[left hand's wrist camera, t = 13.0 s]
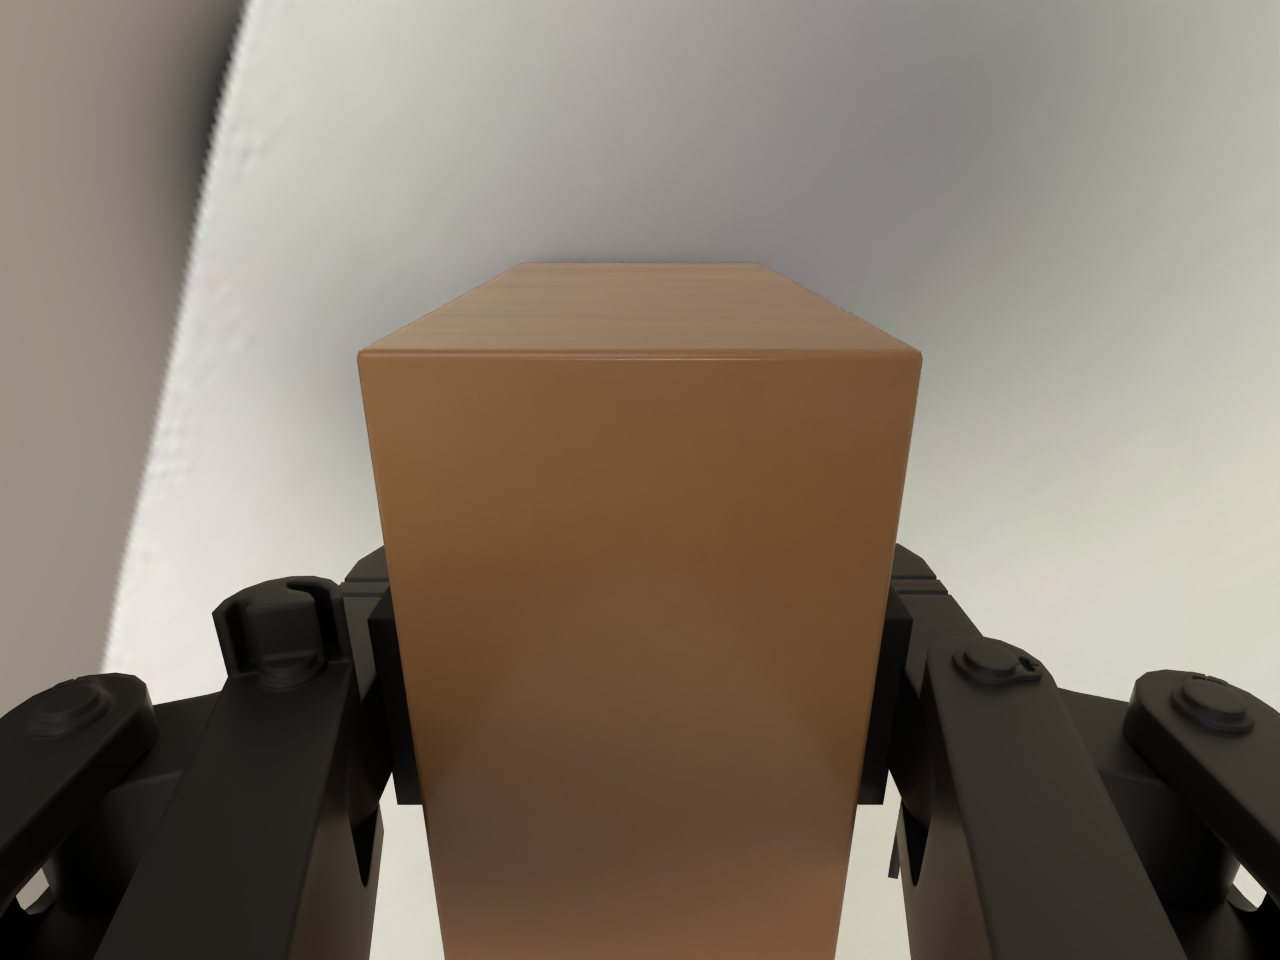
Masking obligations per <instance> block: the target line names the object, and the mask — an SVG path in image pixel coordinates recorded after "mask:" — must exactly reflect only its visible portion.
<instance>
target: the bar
mask: <svg viewBox="0 0 1280 960" xmlns="http://www.w3.org/2000/svg"><path fill="white" fill-rule="evenodd" d="M922 360H923V358H922V354H921V352H920V351H919V350H917V349H915V348H913V347H911V346H909V345H908V344H906V343H904V342H902V341H900V340H899V339H897V338H895V337H893V336H891V335H889V334H888V333H886V332H884V331H882V330H880V329H879V328H877V327H875V326H873V325H871V324H869V323H868V322H866V321H864V320H862V319H860V318H858V317H857V316H855V315H853V314H851V313H849V312H848V311H846V310H844V309H842V308H840V307H838V306H837V305H835V304H833V303H831V302H829V301H828V300H826V299H824V298H822V297H820V296H818V295H817V294H815V293H813V292H811V291H809V290H807V289H806V288H804V287H802V286H800V285H798V284H797V283H795V282H793V281H791V280H789V279H787V278H786V277H784V276H782V275H780V274H778V273H777V272H775V271H773V270H771V269H769V268H767V267H766V266H764V265H762V264H760V263H521V264H519V265H517V266H515V267H514V268H512V269H510V270H508V271H506V272H504V273H503V274H501V275H499V276H497V277H495V278H493V279H491V280H490V281H488V282H486V283H484V284H482V285H480V286H479V287H477V288H475V289H473V290H471V291H469V292H467V293H466V294H464V295H462V296H460V297H458V298H456V299H455V300H453V301H451V302H449V303H447V304H445V305H443V306H442V307H440V308H438V309H436V310H434V311H432V312H431V313H429V314H427V315H425V316H423V317H421V318H419V319H418V320H416V321H414V322H412V323H410V324H408V325H407V326H405V327H403V328H401V329H399V330H397V331H395V332H394V333H392V334H390V335H388V336H386V337H384V338H383V339H381V340H379V341H377V342H375V343H373V344H371V345H370V346H368V347H366V348H364V349H362V350H360V351H359V352H358V356H357V363H358V369H359V376H360V383H361V390H362V397H363V404H364V410H365V417H366V424H367V431H368V438H369V444H370V451H371V458H372V465H373V472H374V479H375V485H376V492H377V499H378V506H379V513H380V520H381V526H382V533H383V540H384V547H385V554H386V560H387V567H388V574H389V581H390V588H391V595H392V601H393V608H394V615H395V622H396V629H397V636H398V642H399V649H400V656H401V663H402V670H403V676H404V683H405V690H406V697H407V704H408V711H409V717H410V724H411V731H412V738H413V745H414V752H415V758H416V765H417V772H418V779H419V786H420V792H421V799H422V806H423V813H424V820H425V827H426V833H427V840H428V847H429V854H430V861H431V868H432V874H433V881H434V888H435V895H436V902H437V909H438V915H439V922H440V929H441V936H442V943H443V949H444V956H445V960H834V959H835V952H836V946H837V939H838V932H839V925H840V918H841V912H842V905H843V898H844V891H845V884H846V877H847V871H848V864H849V857H850V850H851V843H852V837H853V830H854V823H855V816H856V809H857V803H858V796H859V789H860V782H861V775H862V769H863V762H864V755H865V748H866V741H867V735H868V728H869V721H870V714H871V707H872V701H873V694H874V687H875V680H876V673H877V666H878V660H879V653H880V646H881V639H882V632H883V626H884V619H885V612H886V605H887V598H888V592H889V585H890V578H891V571H892V564H893V558H894V551H895V544H896V537H897V530H898V524H899V517H900V510H901V503H902V496H903V489H904V483H905V476H906V469H907V462H908V455H909V449H910V442H911V435H912V428H913V421H914V415H915V408H916V401H917V394H918V387H919V381H920V374H921V367H922Z"/></svg>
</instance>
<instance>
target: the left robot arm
mask: <svg viewBox="0 0 1280 960" xmlns="http://www.w3.org/2000/svg"><path fill="white" fill-rule="evenodd" d="M212 616H213V620H214V624H215V628H216V632H217V635H218V639H219V643H220V647H221V651H222V655H223V659H224V663H225V667H226V670H227V674H228V678H227V680H226V682H225V684H224V686H223V689H222V691H219V692H216V693H212V694H208V695H203V696H198V697H193V698H188V699H183V700H178V701H172V702H167V703H162V704H157V705H152V702H151V699H150V696H149V693H148V689H147V686H146V683H144V682H143V681H142V680H140V679H139V678H138V677H136V676H135V675H128V674H121V673H108V674H98V675H87V676H83V677H78V678H77V679H75V680H74V679H71V680H68V681H65V682H61V683H59V684H57V685H55V686H54V687H52V688H50V689H48V690H45V691H43V692H41V693H39V694H36V695H34V696H32V697H31V698H29V699H28V700H26V701H25V702H23V703H21V704H20V705H18V706H17V707H15V708H14V709H12V710H11V711H9V712H8V713H7V714H5V715H4V716H3V717H2V718H0V960H369V956H370V948H371V939H372V930H373V922H374V913H375V904H376V896H377V887H378V878H379V870H380V861H381V852H382V844H383V835H384V828H383V822H382V815H381V810H380V804H379V800H380V798H381V796H382V793H383V791H384V789H385V786H386V784H387V782H388V780H389V777H390V775H391V773H392V774H393V780H394V786H395V792H396V798H397V804H398V805H422V799H421V792H420V786H419V779H418V772H417V765H416V758H415V752H414V745H413V738H412V731H411V724H410V717H409V711H408V704H407V697H406V690H405V683H404V676H403V670H402V663H401V656H400V649H399V642H398V636H397V629H396V622H395V615H394V608H393V601H392V595H391V588H390V581H389V574H388V567H387V560H386V554H385V547H384V546H382V547H380V548H379V549H377V550H375V551H374V552H372V553H370V554H369V555H367V556H366V557H364V558H362V559H361V560H359V561H358V562H357V563H356V565H355V566H354V567H353V569H352V570H351V571H350V572H349V574H348V575H347V576H346V578H345V582H342V583H341V584H340V585H337V584H336V583H335V582H333V581H332V580H330V579H325V578H321V577H316V576H290V577H285V578H280V579H274V580H269V581H265V582H262V583H259V584H257V585H254V586H251V587H248V588H245V589H243V590H241V591H239V592H238V593H236V594H234V595H232V596H231V597H229V598H227V599H225V600H224V601H223V602H222V603H221V604H220V605H219V606H218V607H217V608H216V609H215V610H214V611H213V612H212ZM889 770H890V772H891V774H892V777H893V779H894V781H895V784H896V786H897V788H898V791H899V793H900V795H901V804H900V810H899V815H898V821H897V827H896V832H895V838H894V844H893V849H892V855H891V861H890V867H889V874H888V877H890V878H895V879H898V874H899V869H900V868H901V877H902V885H903V894H904V903H905V911H906V920H907V929H908V937H909V946H910V954H911V960H1280V713H1278V712H1277V711H1276V710H1275V709H1273V708H1272V707H1270V706H1269V705H1267V704H1266V703H1264V702H1263V701H1261V700H1260V699H1258V698H1257V697H1255V696H1253V695H1252V694H1250V693H1249V692H1246V691H1244V690H1242V689H1240V688H1237V687H1235V686H1233V685H1230V684H1228V683H1227V682H1226V681H1224V680H1221V679H1218V678H1215V677H1212V676H1208V677H1207V676H1205V674H1200V673H1195V672H1185V671H1176V670H1159V671H1152V672H1147V673H1145V674H1144V675H1143V676H1141V677H1140V678H1139V679H1137V680H1136V682H1135V685H1134V689H1133V692H1132V695H1131V698H1130V701H1129V702H1124V701H1119V700H1114V699H1109V698H1104V697H1099V696H1094V695H1088V694H1083V693H1078V692H1074V691H1070V690H1066V689H1062V688H1058V687H1057V685H1056V683H1055V681H1054V679H1053V677H1052V675H1051V674H1050V673H1049V671H1048V670H1047V669H1046V668H1045V666H1044V665H1043V664H1042V663H1041V662H1040V661H1039V660H1037V659H1036V658H1034V657H1033V656H1031V655H1030V654H1028V653H1027V652H1025V651H1024V650H1022V649H1020V648H1018V647H1015V646H1013V645H1010V644H1008V643H1006V642H1003V641H1001V640H997V639H992V638H987V637H983V635H982V634H981V633H980V632H979V630H978V629H977V628H976V626H975V625H974V624H973V623H972V621H971V620H970V619H969V617H968V616H967V615H966V614H965V612H964V611H963V610H962V608H961V607H960V606H959V605H958V603H957V602H956V601H955V599H954V598H953V597H952V596H951V595H948V590H947V589H946V588H945V587H944V585H943V584H942V583H941V581H940V580H937V579H936V575H935V574H934V573H933V571H932V570H931V569H930V567H929V566H928V565H927V564H926V562H925V561H924V560H923V558H921V557H919V556H918V555H916V554H914V553H913V552H911V551H910V550H908V549H906V548H905V547H903V546H901V545H900V544H898V543H896V544H895V551H894V558H893V564H892V571H891V578H890V585H889V592H888V598H887V605H886V612H885V619H884V626H883V632H882V639H881V646H880V653H879V660H878V666H877V673H876V680H875V687H874V694H873V701H872V707H871V714H870V721H869V728H868V735H867V741H866V748H865V755H864V762H863V769H862V775H861V782H860V789H859V796H858V803H857V805H883V801H884V795H885V789H886V783H887V777H888V771H889ZM1240 864H1242V865H1243V867H1244V868H1245V869H1246V870H1247V871H1248V872H1249V873H1250V874H1251V875H1252V877H1253V878H1254V879H1255V880H1256V881H1257V882H1258V883H1259V884H1260V885H1261V886H1262V888H1263V889H1264V890H1265V891H1266V892H1267V893H1266V895H1265V898H1264V900H1263V902H1262V904H1261V905H1260V906H1259V907H1258V908H1257V907H1255V906H1254V905H1253V904H1252V903H1251V902H1250V901H1249V900H1247V899H1246V898H1245V897H1244V896H1243V894H1242V893H1241V892H1240V891H1239V890H1238V889H1237V888H1236V886H1235V885H1234V884H1233V881H1234V879H1235V876H1236V874H1237V872H1238V869H1239V867H1240ZM41 867H42V870H43V872H44V874H45V877H46V879H47V881H48V884H49V887H48V888H47V889H46V890H45V891H44V893H43V894H42V895H41V896H40V897H39V898H38V899H37V900H36V901H35V902H34V903H33V904H32V905H30V906H29V907H28V908H27V909H26V910H23V909H22V908H21V907H20V905H19V903H18V900H17V898H16V895H17V894H18V893H19V892H20V890H21V889H22V888H23V887H24V886H25V885H26V884H27V883H28V882H29V880H30V879H31V878H32V877H33V876H34V875H35V874H36V873H37V872H38V871H39V869H40V868H41Z"/></svg>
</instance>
